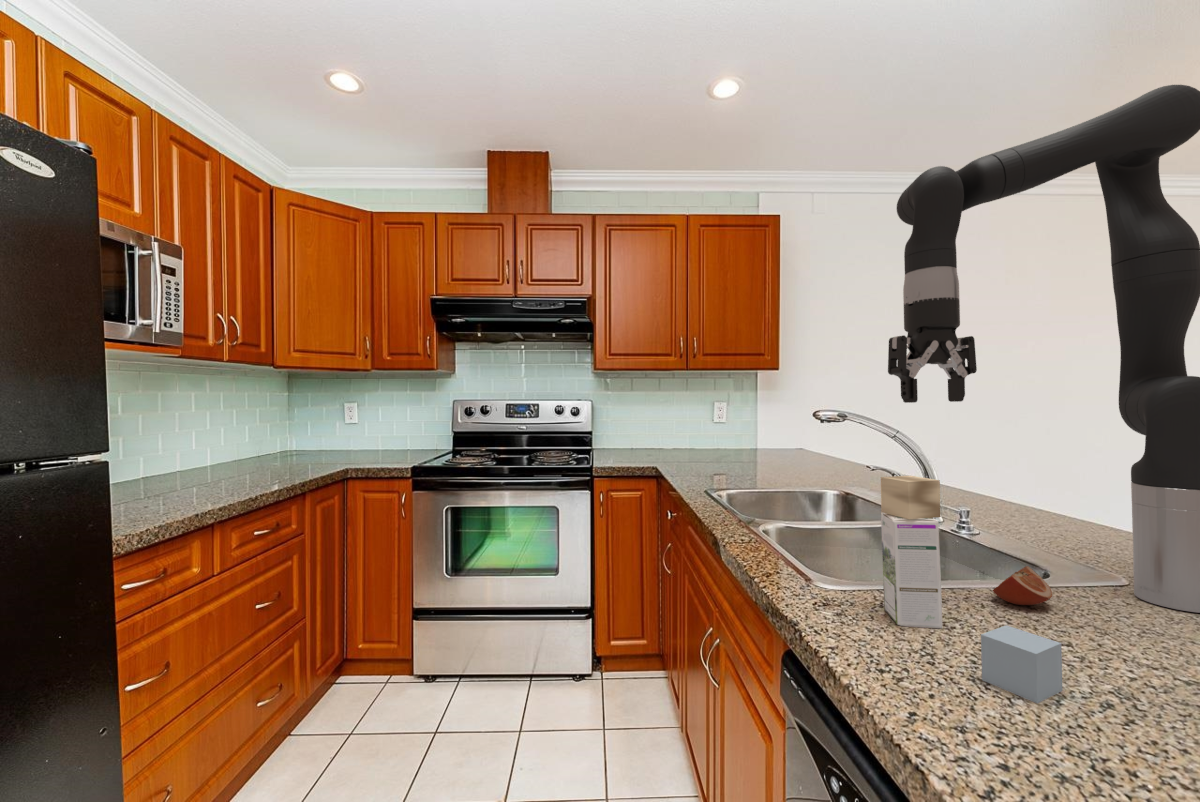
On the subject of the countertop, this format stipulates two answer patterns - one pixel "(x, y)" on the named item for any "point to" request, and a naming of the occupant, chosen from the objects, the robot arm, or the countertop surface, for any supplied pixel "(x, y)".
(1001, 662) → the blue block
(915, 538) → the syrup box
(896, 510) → the maple block
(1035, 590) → the fruit slice
